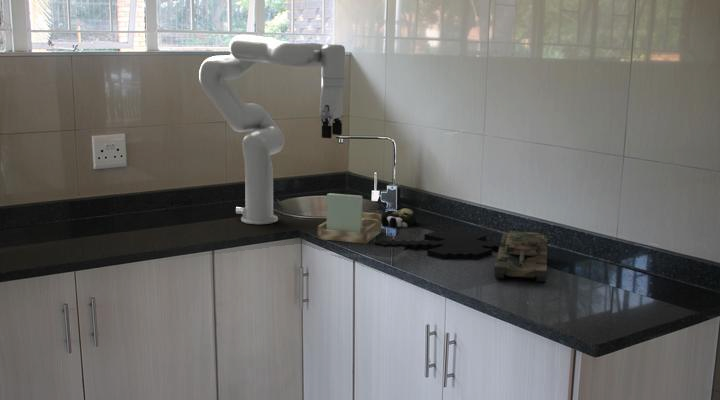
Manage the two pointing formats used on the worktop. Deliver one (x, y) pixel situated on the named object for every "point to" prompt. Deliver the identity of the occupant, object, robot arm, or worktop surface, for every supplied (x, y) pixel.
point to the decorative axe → (449, 245)
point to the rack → (367, 232)
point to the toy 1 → (398, 218)
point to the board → (344, 212)
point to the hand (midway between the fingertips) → (331, 136)
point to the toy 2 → (522, 255)
